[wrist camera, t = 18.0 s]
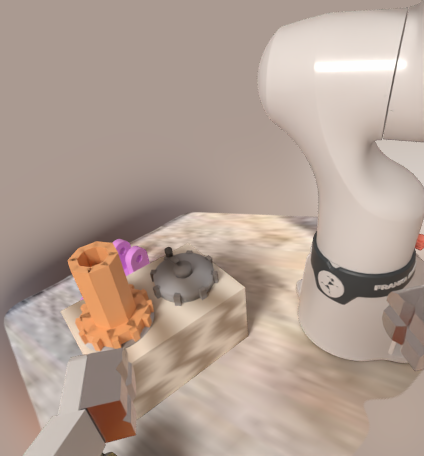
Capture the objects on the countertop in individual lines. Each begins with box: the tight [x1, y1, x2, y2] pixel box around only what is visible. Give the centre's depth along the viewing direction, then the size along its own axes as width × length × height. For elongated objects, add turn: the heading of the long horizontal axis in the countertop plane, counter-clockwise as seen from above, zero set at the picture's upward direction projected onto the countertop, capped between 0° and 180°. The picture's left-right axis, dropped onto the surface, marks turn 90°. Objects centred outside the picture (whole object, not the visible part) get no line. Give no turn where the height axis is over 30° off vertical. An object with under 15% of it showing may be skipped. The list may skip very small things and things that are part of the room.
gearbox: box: [61, 243, 248, 420], centre depth 46 cm, size 20×13×14 cm, turn 128°
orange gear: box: [68, 242, 154, 351], centre depth 39 cm, size 9×9×10 cm
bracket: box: [80, 239, 150, 301], centre depth 59 cm, size 13×6×7 cm, turn 145°
